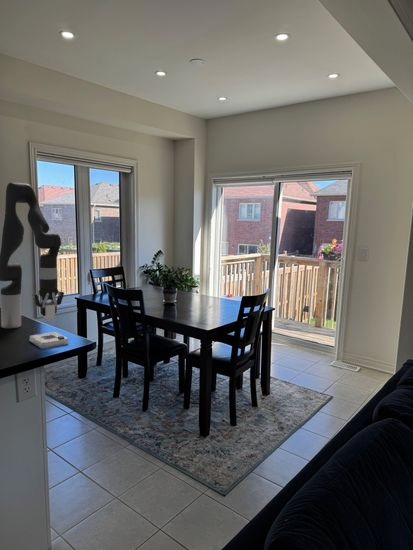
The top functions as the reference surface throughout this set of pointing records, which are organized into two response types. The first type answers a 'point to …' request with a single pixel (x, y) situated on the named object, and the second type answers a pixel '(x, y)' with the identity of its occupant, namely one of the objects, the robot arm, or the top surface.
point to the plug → (49, 310)
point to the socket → (48, 340)
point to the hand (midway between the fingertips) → (48, 314)
